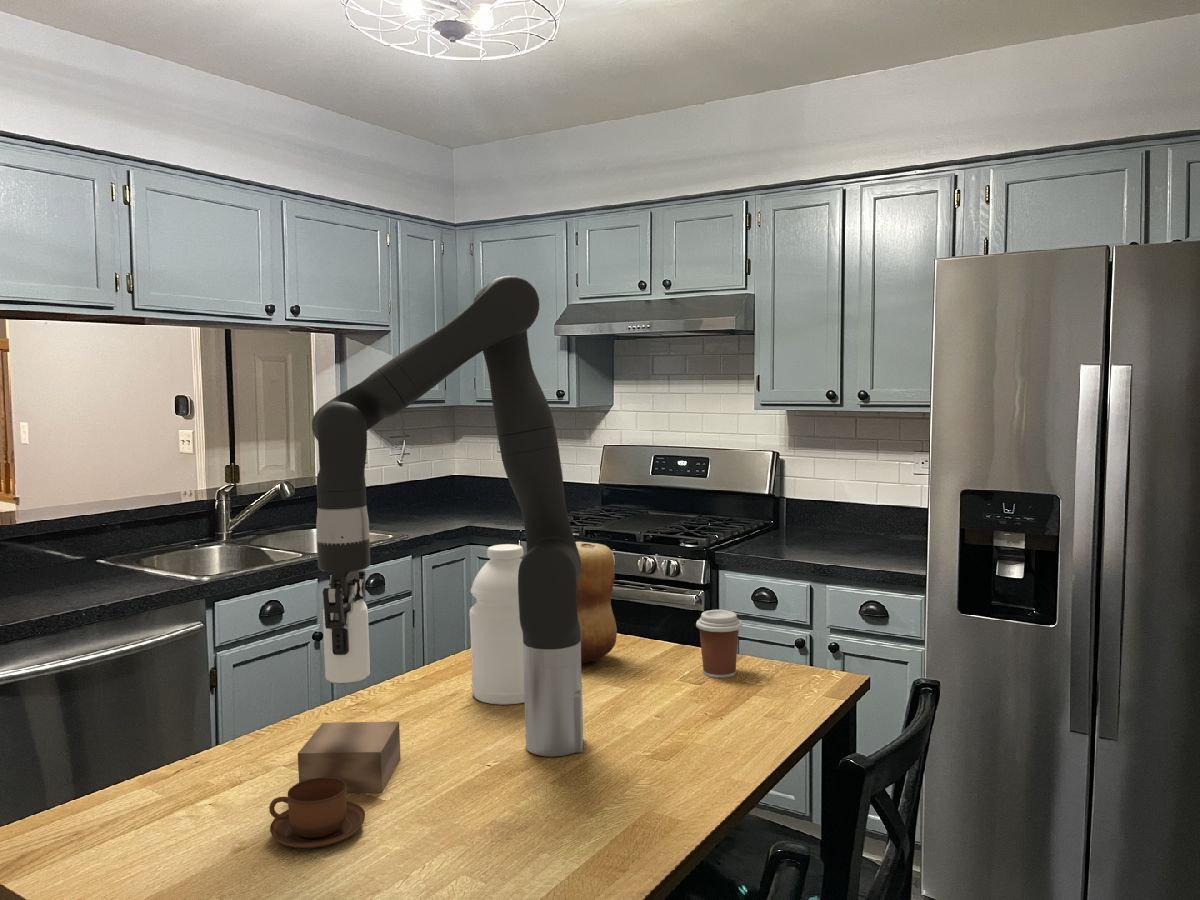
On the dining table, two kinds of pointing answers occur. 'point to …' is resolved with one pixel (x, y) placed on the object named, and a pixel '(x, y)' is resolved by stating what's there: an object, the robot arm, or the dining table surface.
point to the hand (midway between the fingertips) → (347, 646)
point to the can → (357, 659)
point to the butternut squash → (595, 601)
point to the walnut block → (352, 754)
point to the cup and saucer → (316, 814)
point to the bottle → (497, 629)
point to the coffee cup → (719, 642)
